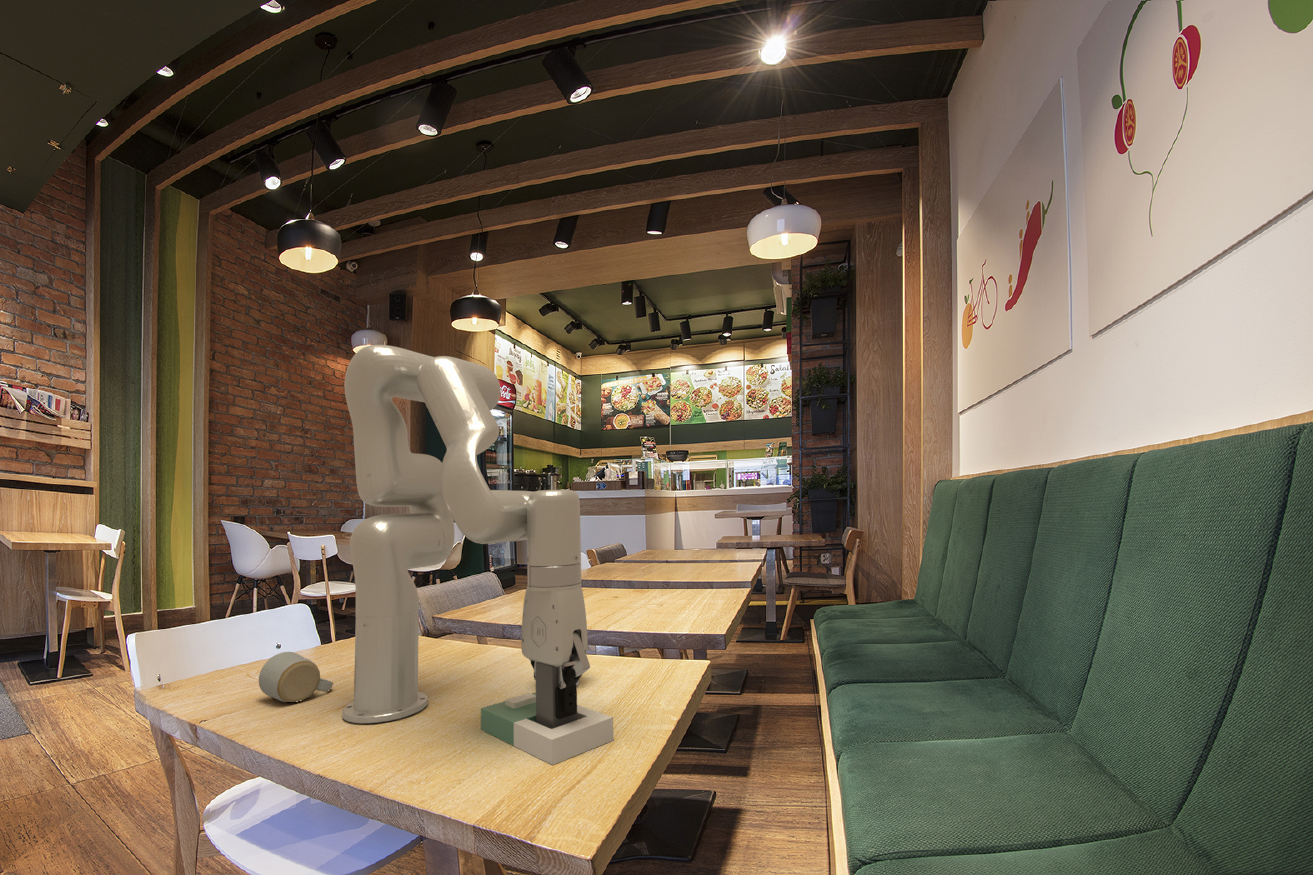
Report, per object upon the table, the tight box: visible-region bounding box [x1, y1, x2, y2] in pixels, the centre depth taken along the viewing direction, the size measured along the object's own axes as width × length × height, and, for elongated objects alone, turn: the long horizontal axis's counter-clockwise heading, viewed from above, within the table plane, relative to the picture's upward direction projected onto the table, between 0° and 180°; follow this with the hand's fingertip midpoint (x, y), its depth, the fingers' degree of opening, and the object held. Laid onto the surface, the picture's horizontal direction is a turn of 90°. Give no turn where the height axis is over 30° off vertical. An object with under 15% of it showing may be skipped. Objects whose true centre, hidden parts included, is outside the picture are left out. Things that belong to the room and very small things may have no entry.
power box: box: [480, 691, 614, 766], centre depth 83 cm, size 18×10×4 cm, turn 45°
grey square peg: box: [535, 659, 577, 729], centre depth 81 cm, size 4×4×9 cm
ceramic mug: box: [258, 651, 334, 703], centre depth 105 cm, size 11×8×8 cm
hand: (556, 710), depth 81 cm, fingers closed on grey square peg, 3 cm apart
